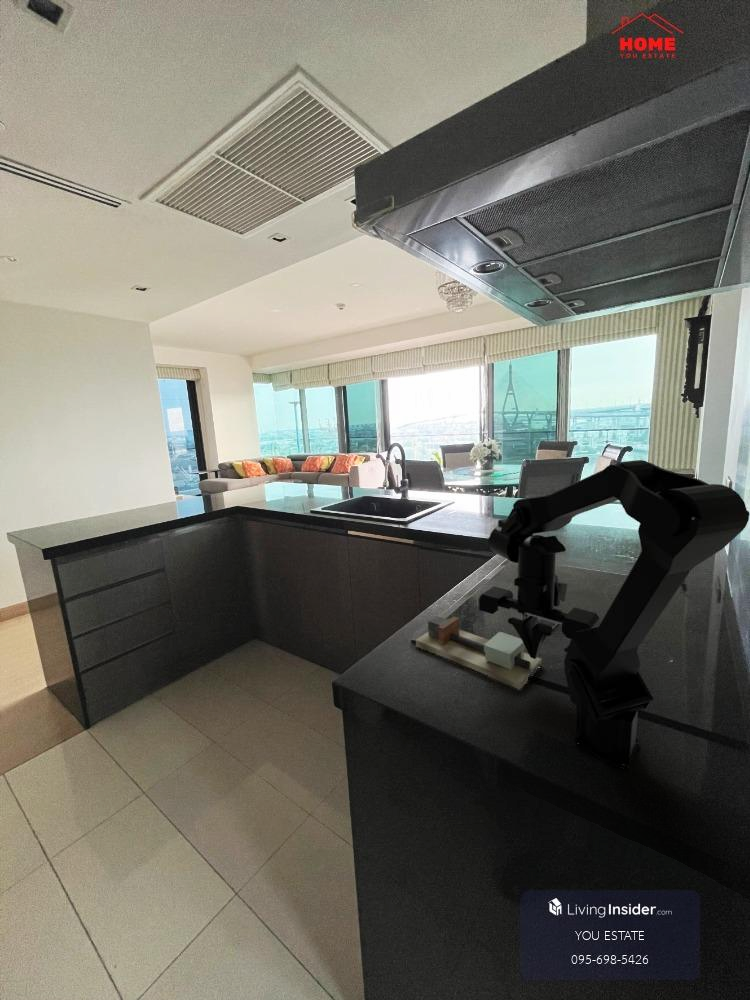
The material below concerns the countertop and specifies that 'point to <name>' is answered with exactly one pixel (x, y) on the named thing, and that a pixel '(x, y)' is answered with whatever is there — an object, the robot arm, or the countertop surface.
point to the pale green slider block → (504, 650)
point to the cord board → (472, 651)
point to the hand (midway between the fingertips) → (534, 657)
